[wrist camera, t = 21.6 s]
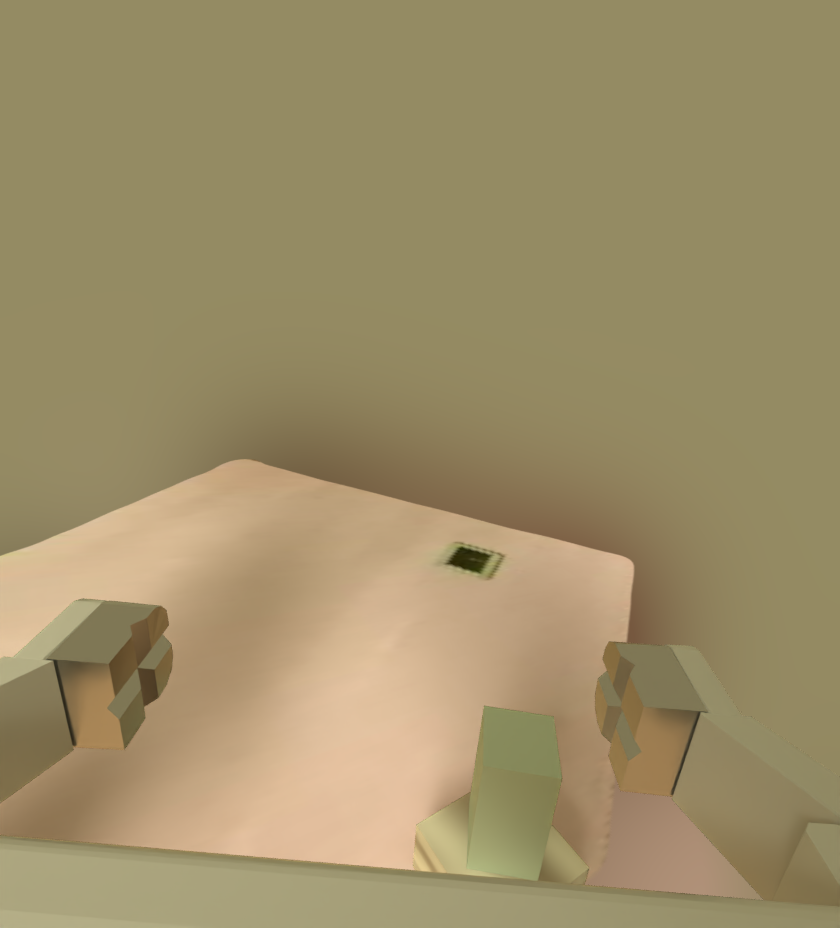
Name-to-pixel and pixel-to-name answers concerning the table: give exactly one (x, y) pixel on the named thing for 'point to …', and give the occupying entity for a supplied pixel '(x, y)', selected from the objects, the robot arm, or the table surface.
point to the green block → (513, 793)
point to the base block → (447, 848)
